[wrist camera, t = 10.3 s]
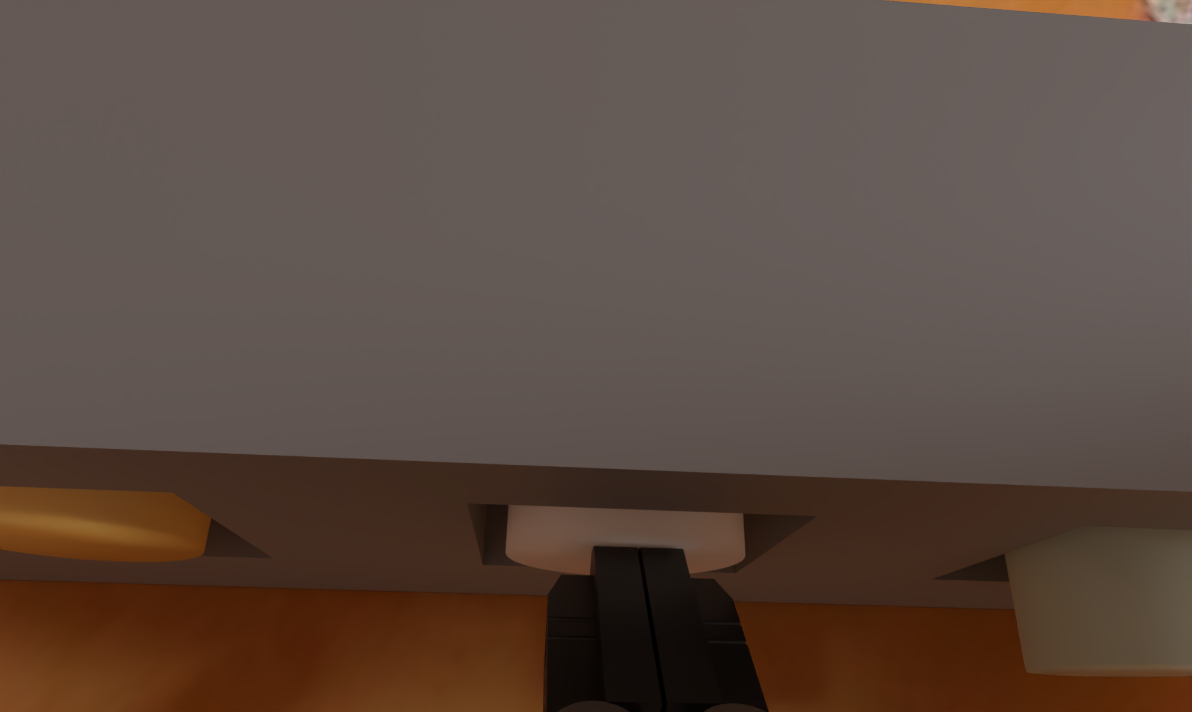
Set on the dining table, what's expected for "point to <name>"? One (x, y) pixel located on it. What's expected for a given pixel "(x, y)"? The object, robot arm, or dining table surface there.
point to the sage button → (1105, 602)
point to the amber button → (101, 524)
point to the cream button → (620, 535)
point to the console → (597, 282)
